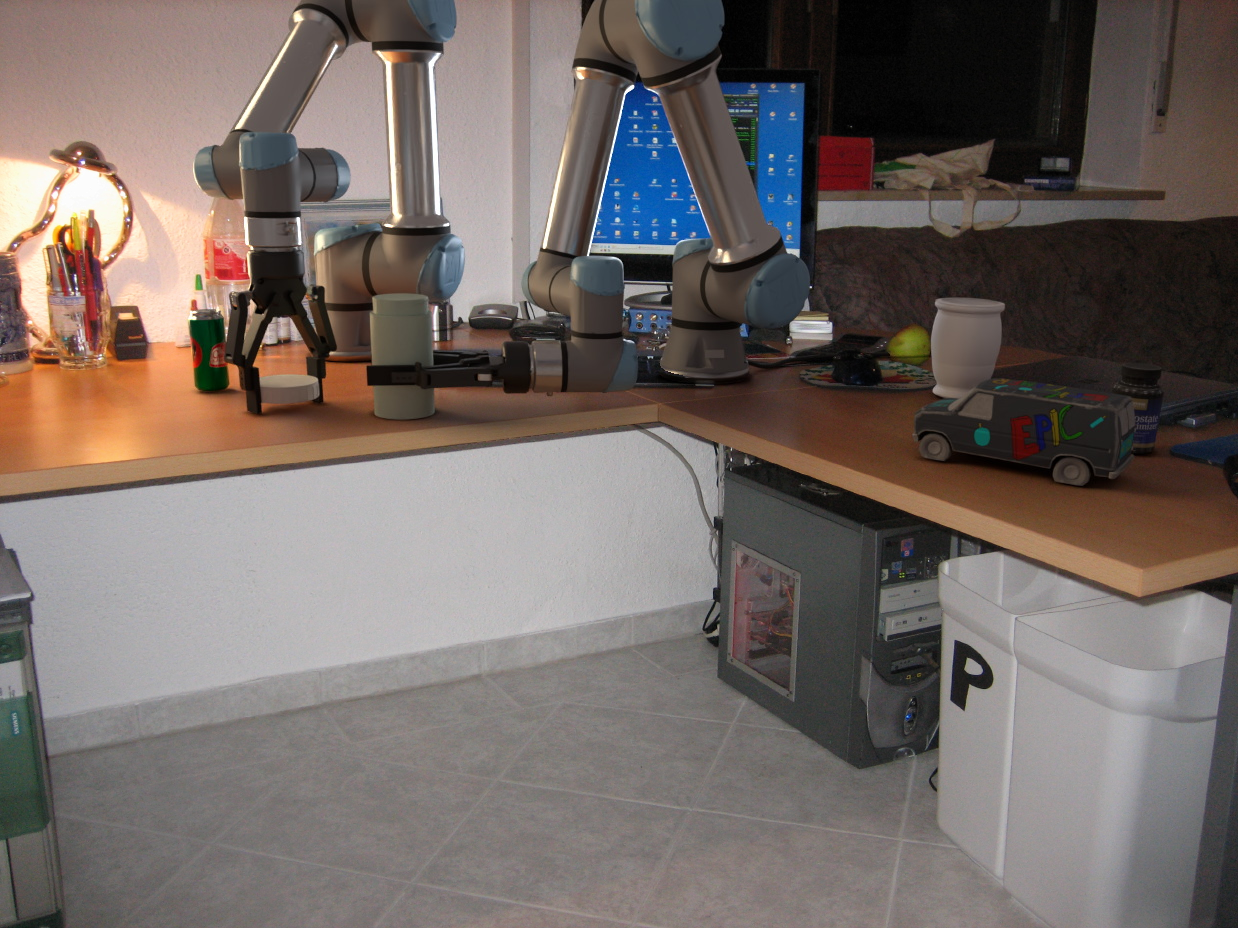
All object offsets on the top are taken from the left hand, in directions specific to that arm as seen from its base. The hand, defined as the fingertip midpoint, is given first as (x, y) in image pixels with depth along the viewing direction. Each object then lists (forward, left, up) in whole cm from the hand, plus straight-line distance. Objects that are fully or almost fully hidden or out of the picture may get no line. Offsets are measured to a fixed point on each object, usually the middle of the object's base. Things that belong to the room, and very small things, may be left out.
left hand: (286, 406), depth 154 cm
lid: (0, 0, +3) cm, 3 cm away
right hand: (-1, +13, +6) cm, 14 cm away
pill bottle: (-15, +115, 0) cm, 116 cm away
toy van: (-2, +100, 0) cm, 100 cm away
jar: (-41, +95, 0) cm, 104 cm away
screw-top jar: (-3, +17, 0) cm, 17 cm away
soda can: (-7, -17, 0) cm, 18 cm away
